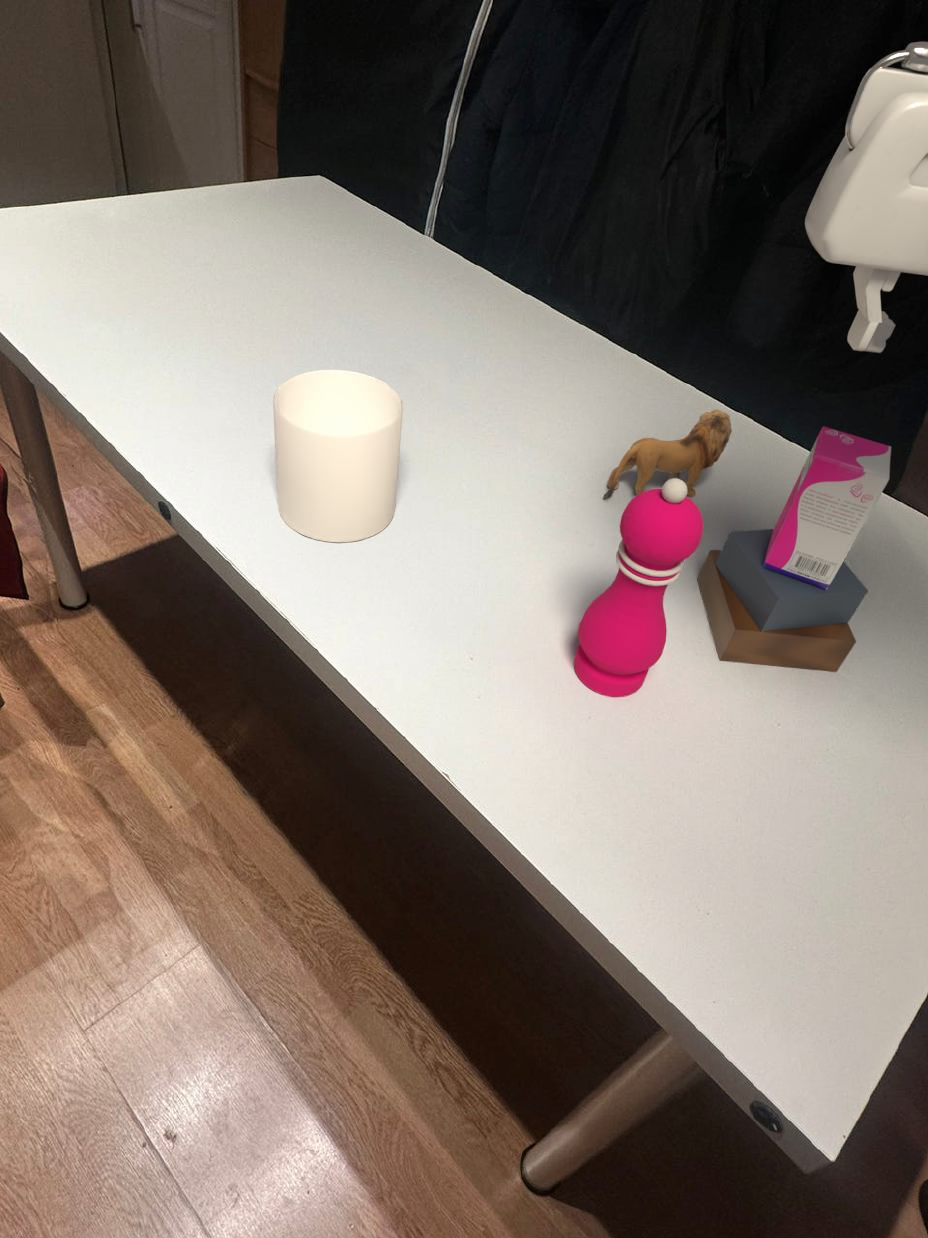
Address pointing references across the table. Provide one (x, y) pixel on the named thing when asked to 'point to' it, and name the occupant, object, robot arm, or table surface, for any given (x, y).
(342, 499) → the cup
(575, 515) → the table surface
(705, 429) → the lion figurine
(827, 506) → the supplement box
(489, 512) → the table surface
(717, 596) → the base block
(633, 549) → the pepper mill
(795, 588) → the top block
